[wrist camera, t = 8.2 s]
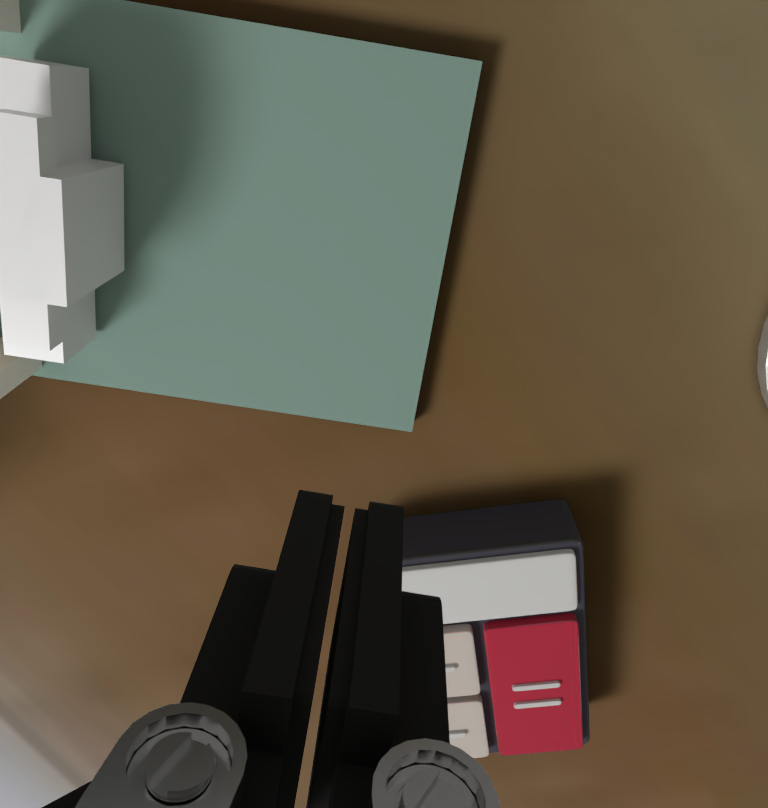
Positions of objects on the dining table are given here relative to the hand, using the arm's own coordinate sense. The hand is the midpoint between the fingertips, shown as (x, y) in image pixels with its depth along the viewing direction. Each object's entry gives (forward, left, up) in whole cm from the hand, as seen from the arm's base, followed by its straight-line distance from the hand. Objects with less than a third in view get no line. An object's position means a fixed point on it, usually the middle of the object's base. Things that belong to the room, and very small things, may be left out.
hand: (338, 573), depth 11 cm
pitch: (+9, -1, -21) cm, 23 cm away
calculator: (-8, +19, -22) cm, 30 cm away
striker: (+13, -1, -20) cm, 24 cm away
